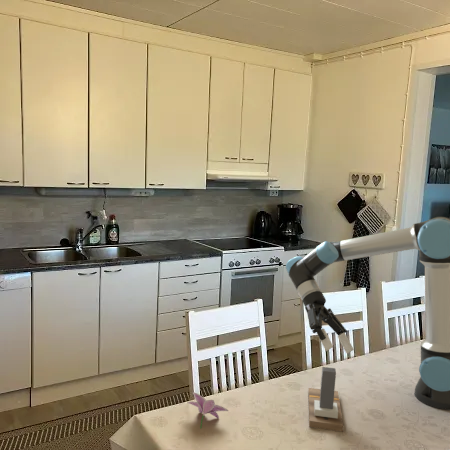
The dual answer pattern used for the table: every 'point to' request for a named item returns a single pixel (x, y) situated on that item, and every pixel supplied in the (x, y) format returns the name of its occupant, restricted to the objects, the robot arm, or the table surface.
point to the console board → (319, 420)
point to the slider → (327, 395)
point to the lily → (206, 406)
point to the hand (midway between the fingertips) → (340, 350)
